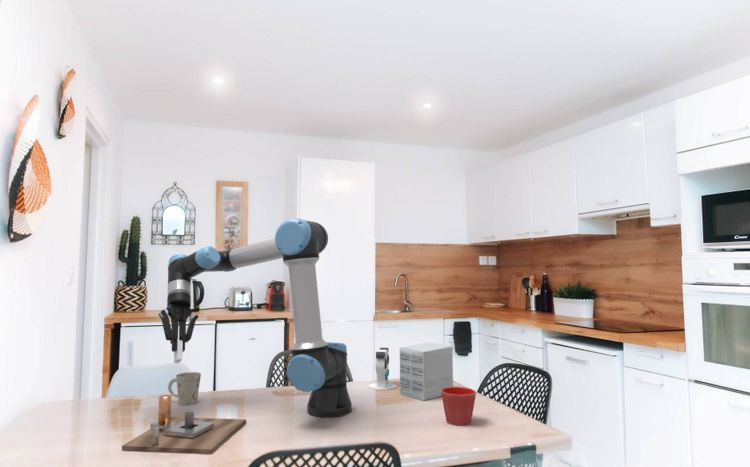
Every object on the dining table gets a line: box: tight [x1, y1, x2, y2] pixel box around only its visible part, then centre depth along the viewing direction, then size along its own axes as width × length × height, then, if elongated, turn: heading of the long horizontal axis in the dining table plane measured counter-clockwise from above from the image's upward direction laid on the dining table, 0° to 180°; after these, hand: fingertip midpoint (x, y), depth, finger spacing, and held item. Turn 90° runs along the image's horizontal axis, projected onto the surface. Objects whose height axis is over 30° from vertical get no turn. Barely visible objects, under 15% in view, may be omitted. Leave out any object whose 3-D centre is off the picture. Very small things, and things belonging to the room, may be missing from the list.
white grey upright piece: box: [368, 347, 397, 391], centre depth 199 cm, size 12×11×15 cm
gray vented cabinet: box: [399, 342, 454, 402], centre depth 188 cm, size 17×13×18 cm
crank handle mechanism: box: [149, 394, 214, 438], centre depth 142 cm, size 18×10×9 cm, turn 74°
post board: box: [121, 410, 247, 455], centre depth 141 cm, size 25×25×7 cm
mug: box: [167, 371, 202, 406], centre depth 176 cm, size 8×13×10 cm, turn 78°
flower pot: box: [441, 386, 477, 426], centre depth 154 cm, size 11×11×10 cm
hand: (178, 361), depth 154 cm, fingers closed
